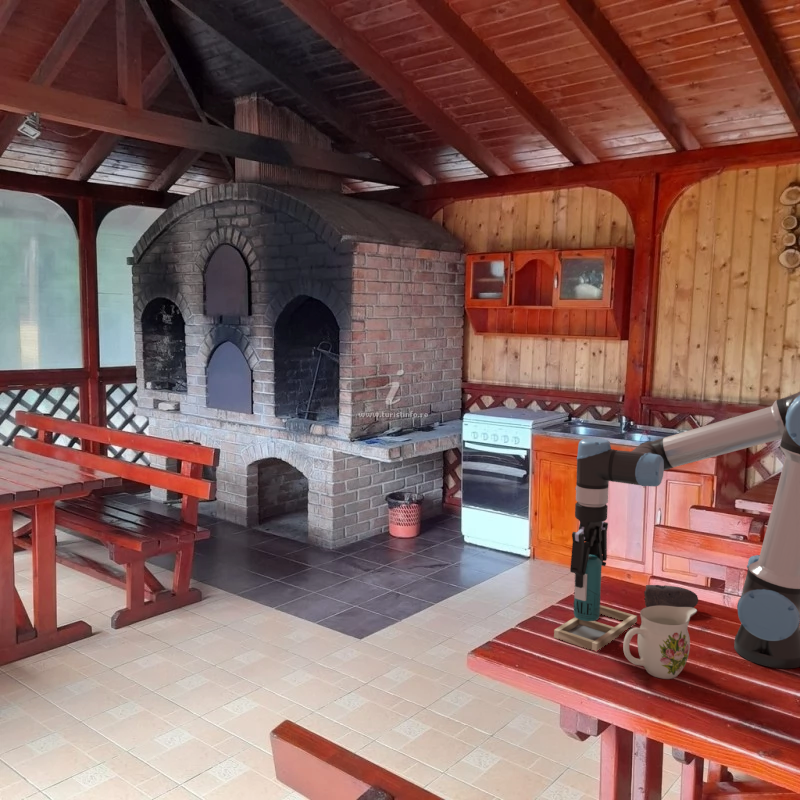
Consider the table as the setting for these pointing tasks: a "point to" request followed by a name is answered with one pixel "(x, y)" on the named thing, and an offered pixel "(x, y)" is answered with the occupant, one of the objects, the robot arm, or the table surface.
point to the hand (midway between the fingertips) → (587, 594)
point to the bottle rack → (594, 629)
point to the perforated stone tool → (669, 596)
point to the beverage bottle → (590, 589)
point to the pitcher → (661, 640)
